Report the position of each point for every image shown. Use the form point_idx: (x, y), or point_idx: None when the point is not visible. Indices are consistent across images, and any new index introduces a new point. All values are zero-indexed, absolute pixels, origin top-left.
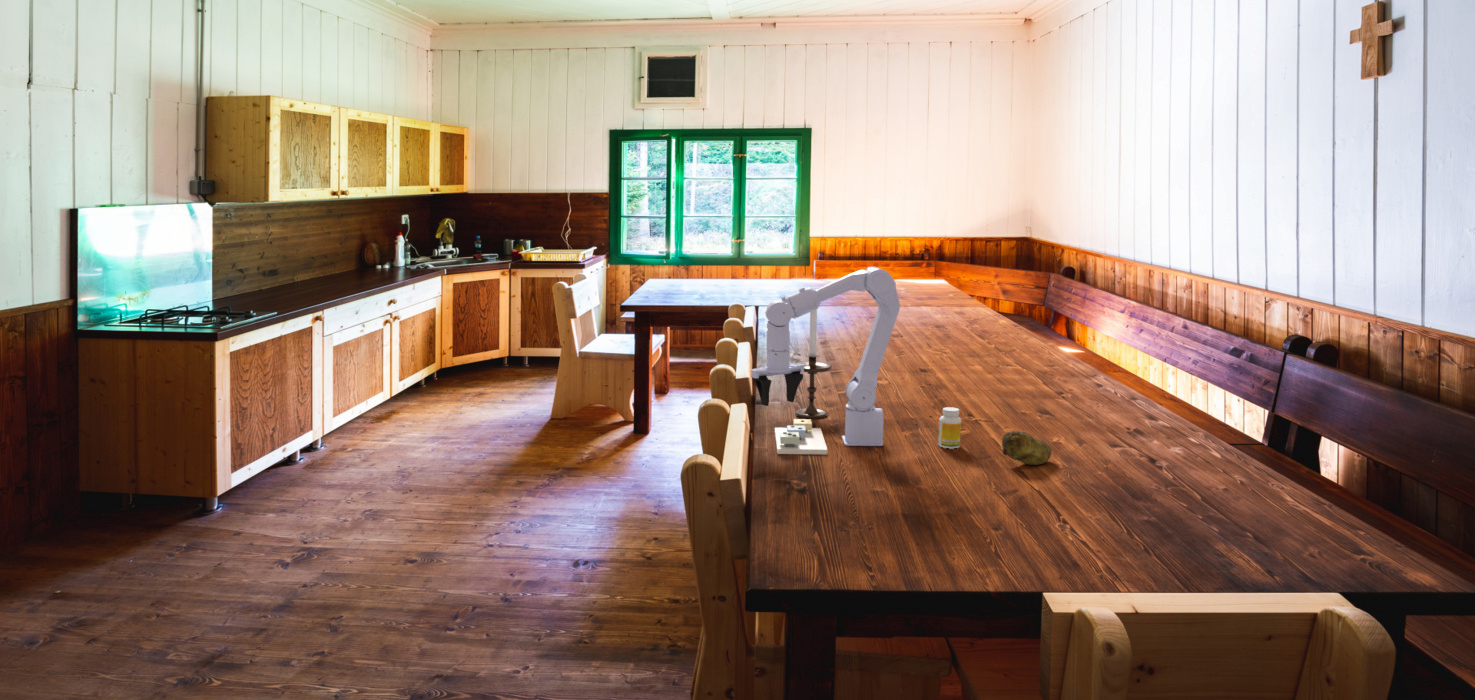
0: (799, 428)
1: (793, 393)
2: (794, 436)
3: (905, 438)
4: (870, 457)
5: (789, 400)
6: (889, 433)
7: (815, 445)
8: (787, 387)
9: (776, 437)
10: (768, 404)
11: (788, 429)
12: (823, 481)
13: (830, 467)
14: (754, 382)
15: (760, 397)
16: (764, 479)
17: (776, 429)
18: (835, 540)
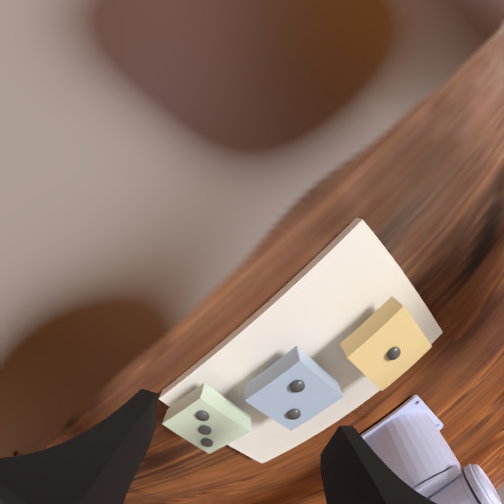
0: (286, 417)
1: (327, 500)
2: (202, 444)
3: (455, 437)
4: (307, 488)
5: (330, 445)
6: (478, 404)
7: (270, 438)
8: (367, 488)
9: (251, 325)
10: (153, 432)
11: (253, 397)
12: (138, 487)
13: (196, 481)
14: (18, 458)
15: (116, 412)
16: (62, 430)
17: (345, 244)
18: None
